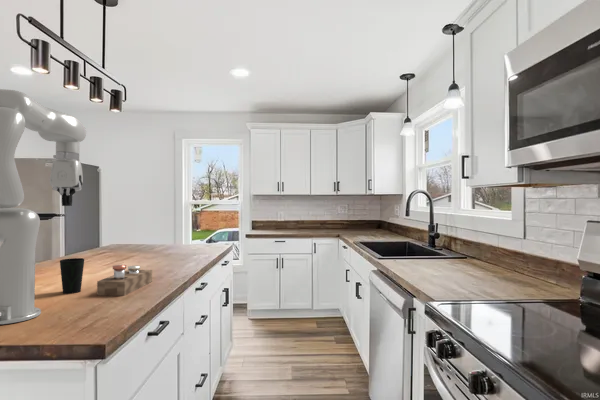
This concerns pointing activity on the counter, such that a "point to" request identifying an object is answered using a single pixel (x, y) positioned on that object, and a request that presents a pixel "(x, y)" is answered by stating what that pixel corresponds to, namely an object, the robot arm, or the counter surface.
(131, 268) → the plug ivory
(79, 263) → the cup
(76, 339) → the counter surface
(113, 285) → the socket block
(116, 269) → the plug red
